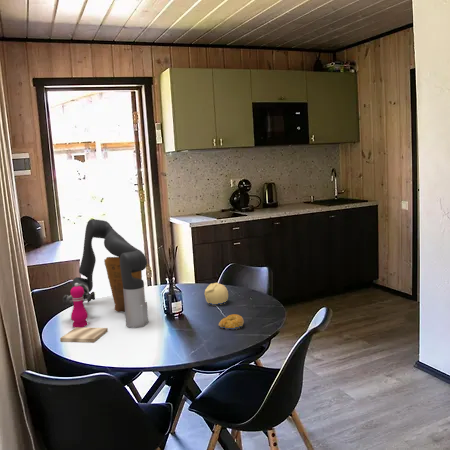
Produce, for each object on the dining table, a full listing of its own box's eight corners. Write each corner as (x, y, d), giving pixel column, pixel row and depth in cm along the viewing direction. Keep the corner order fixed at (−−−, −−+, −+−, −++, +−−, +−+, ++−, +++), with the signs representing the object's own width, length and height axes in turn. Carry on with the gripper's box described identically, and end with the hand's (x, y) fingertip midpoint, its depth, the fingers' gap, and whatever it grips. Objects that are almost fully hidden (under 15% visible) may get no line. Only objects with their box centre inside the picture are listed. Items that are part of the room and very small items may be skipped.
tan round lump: (207, 300, 248) (206, 280, 246) (230, 300, 246) (229, 280, 245) (203, 307, 236) (201, 286, 235) (227, 307, 235) (225, 285, 233)
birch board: (107, 331, 208) (107, 328, 208) (94, 342, 195) (93, 338, 195) (76, 330, 211) (75, 327, 211) (60, 341, 198) (60, 338, 198)
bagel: (218, 323, 211) (218, 313, 211) (243, 322, 211) (243, 312, 210) (218, 331, 201) (217, 320, 201) (244, 330, 201) (243, 320, 200)
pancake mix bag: (142, 314, 230) (137, 257, 226) (107, 312, 236) (102, 256, 232) (148, 310, 236) (144, 254, 233) (114, 308, 242) (110, 254, 239)
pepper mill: (83, 328, 213) (79, 284, 211) (69, 328, 215) (64, 284, 212) (91, 323, 220) (87, 280, 218) (77, 322, 222) (73, 280, 219)
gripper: (64, 286, 231) (61, 295, 215) (94, 283, 234) (93, 291, 218) (66, 301, 232) (62, 311, 216) (96, 298, 235) (95, 307, 219)
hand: (78, 301), depth 217 cm, fingers open, 8 cm apart
